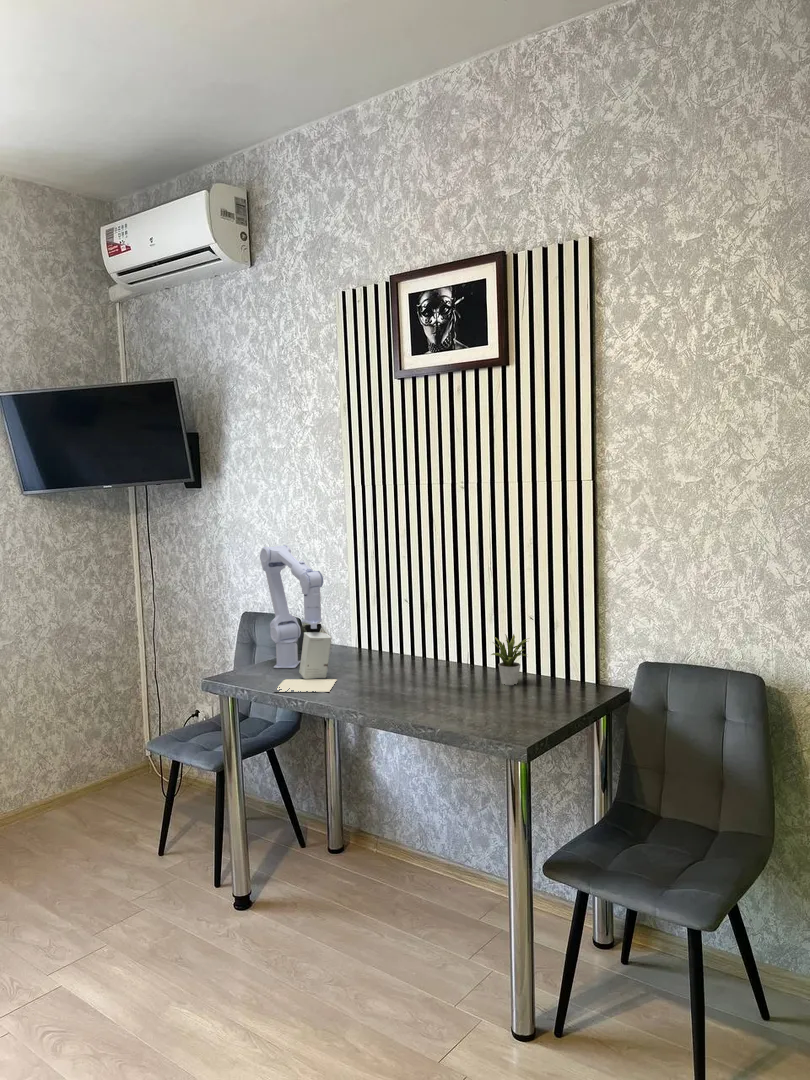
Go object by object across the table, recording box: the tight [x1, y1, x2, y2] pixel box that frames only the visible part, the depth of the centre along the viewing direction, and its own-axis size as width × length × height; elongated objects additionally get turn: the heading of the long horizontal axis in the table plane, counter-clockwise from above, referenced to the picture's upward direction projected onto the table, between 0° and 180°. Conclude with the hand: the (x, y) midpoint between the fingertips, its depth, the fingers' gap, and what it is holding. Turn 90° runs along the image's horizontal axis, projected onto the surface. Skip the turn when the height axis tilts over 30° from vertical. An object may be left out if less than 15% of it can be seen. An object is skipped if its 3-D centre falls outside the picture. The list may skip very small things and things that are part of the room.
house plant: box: [490, 633, 530, 686], centre depth 257 cm, size 14×14×16 cm
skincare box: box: [298, 631, 332, 679], centre depth 270 cm, size 8×6×15 cm
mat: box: [276, 678, 338, 693], centre depth 260 cm, size 15×18×1 cm
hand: (313, 645), depth 274 cm, fingers closed
